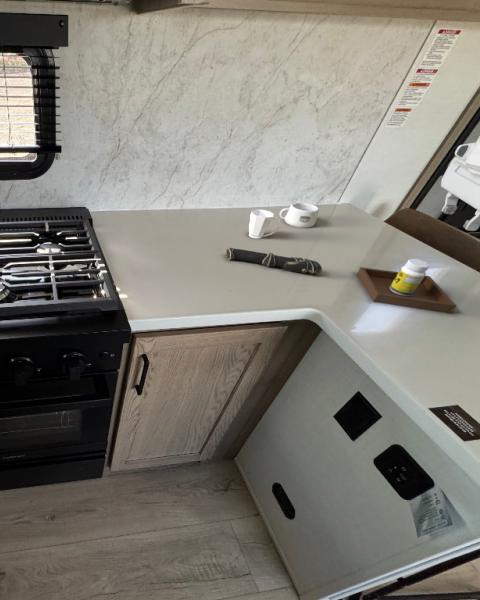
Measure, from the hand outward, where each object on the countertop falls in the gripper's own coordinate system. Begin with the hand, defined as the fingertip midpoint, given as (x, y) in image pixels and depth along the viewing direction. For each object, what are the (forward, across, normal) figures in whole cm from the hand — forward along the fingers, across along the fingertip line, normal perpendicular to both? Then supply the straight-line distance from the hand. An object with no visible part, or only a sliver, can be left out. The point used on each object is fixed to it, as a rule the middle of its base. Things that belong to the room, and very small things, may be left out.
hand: (457, 220), depth 77 cm
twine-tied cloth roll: (+19, +3, +33) cm, 38 cm away
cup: (+19, +23, +34) cm, 46 cm away
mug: (+19, +39, +21) cm, 49 cm away
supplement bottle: (+19, -2, +3) cm, 19 cm away
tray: (+19, -2, +3) cm, 20 cm away
